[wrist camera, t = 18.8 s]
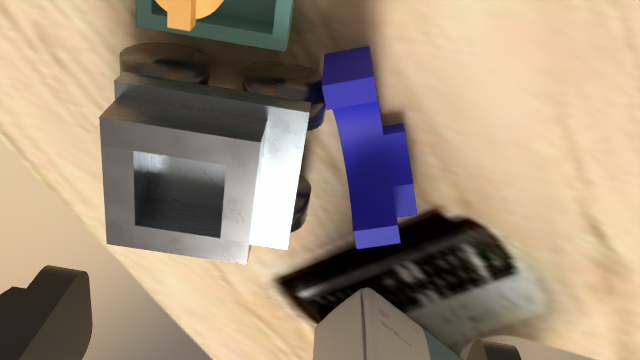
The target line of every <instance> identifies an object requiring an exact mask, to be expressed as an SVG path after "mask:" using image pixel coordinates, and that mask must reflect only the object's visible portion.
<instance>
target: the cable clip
mask: <svg viewBox="0 0 640 360" xmlns="http://www.w3.org/2000/svg"><path fill="white" fill-rule="evenodd" d="M322 90H323V95H324V99H325V104H326V109H327V110H329V109H332V110H333V113H334V116H335V120H336V123H337V127H338V131H339V136H340V140H341V145H342V150H343V155H344V161H345V167H346V173H347V179H348V186H349V193H350V201H351V210H352V221H353V234H354V238H355V243H356V248H357V249H361V248H368V247H375V246H382V245H389V244H397V243H400V236H399V230H398V223H397V217H404V216H411V215H417V208H416V201H415V194H414V186H413V180H412V174H411V168H410V162H409V155H408V149H407V142H406V135H405V129H404V125H403V124H397V125H391V126H385V127H382V123H381V116H380V110H379V104H378V98H377V92H376V86H375V79H374V73H373V67H372V61H371V55H370V48H369V46H366V47H361V48H355V49H350V50H345V51H340V52H334V53H329V54H325V55H324V66H323V77H322Z"/></svg>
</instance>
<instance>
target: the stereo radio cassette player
mask: <svg viewBox="0 0 640 360" xmlns="http://www.w3.org/2000/svg"><path fill="white" fill-rule="evenodd" d="M313 360H463V359H462V358H461V357H459V356H458V355H457V354H455V353H454V352H453V351H452V350H450V349H449V348H448V347H446V346H445V345H444V344H443V343H441V342H440V341H439V340H437V339H436V338H435V337H434V336H432V335H431V334H430V333H428V332H427V331H426V330H424V329H423V328H422V327H421V326H419V325H418V324H417V323H415V322H414V321H413V320H412V319H410V318H409V317H408V316H406V315H405V314H404V313H403V312H401V311H400V310H399V309H397V308H396V307H395V306H393V305H392V304H391V303H390V302H388V301H387V300H386V299H384V298H383V297H382V296H381V295H379V294H378V293H376V292H375V291H374V290H372V289H371V288H368V287H367V288H363V289H362V288H361V289H360V290H358V291H357V292H356V293H354V294H353V295H352V296H350V297H349V298H347V299H346V300H345V301H344V302H342V303H341V304H340V305H339V306H337V307H336V308H335V309H334V310H333V311H332V312H331V313H329V314H328V315H327V316H326V317H325V318H324V319H323V320H322V321H321V322H320V323H319V324H318V325H317V326H316V328H315V333H314V349H313Z"/></svg>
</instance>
